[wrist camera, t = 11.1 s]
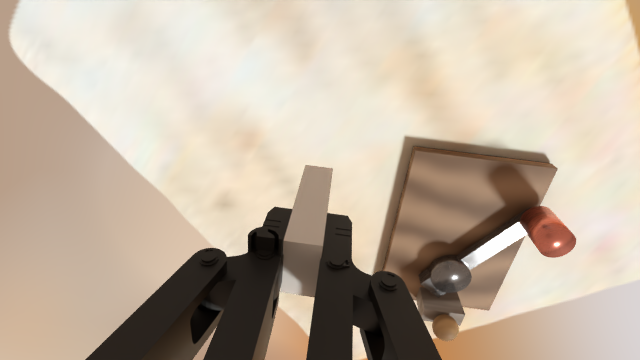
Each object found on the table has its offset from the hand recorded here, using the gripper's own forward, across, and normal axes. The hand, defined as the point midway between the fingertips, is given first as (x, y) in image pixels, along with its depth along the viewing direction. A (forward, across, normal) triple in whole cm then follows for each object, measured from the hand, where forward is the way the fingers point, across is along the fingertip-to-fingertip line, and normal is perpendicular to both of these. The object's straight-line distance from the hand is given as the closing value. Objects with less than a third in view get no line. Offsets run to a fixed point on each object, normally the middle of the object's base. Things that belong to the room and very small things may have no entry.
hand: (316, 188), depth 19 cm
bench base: (+26, +20, -20) cm, 39 cm away
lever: (+25, +23, -20) cm, 39 cm away
